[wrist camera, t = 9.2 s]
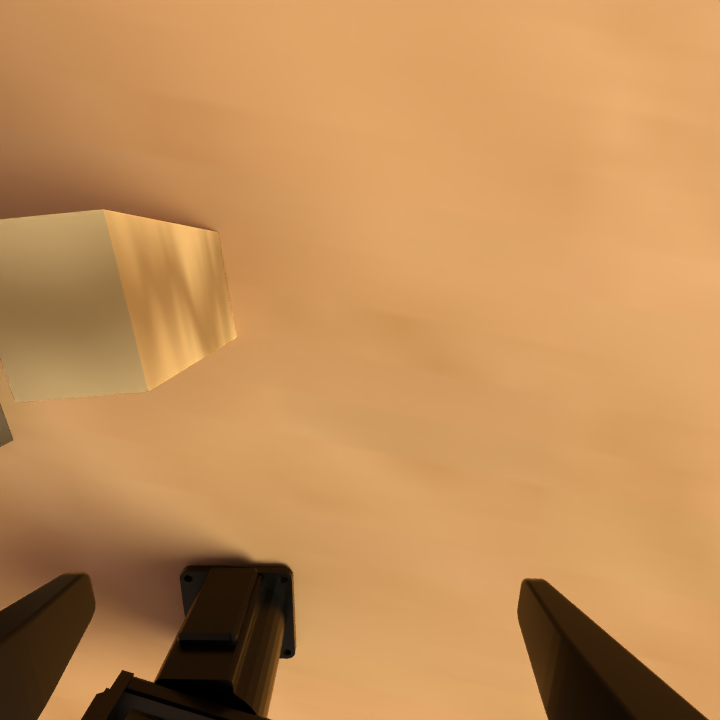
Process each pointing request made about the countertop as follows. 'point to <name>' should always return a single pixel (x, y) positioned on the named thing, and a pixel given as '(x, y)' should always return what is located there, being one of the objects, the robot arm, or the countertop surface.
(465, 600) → the countertop surface
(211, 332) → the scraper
